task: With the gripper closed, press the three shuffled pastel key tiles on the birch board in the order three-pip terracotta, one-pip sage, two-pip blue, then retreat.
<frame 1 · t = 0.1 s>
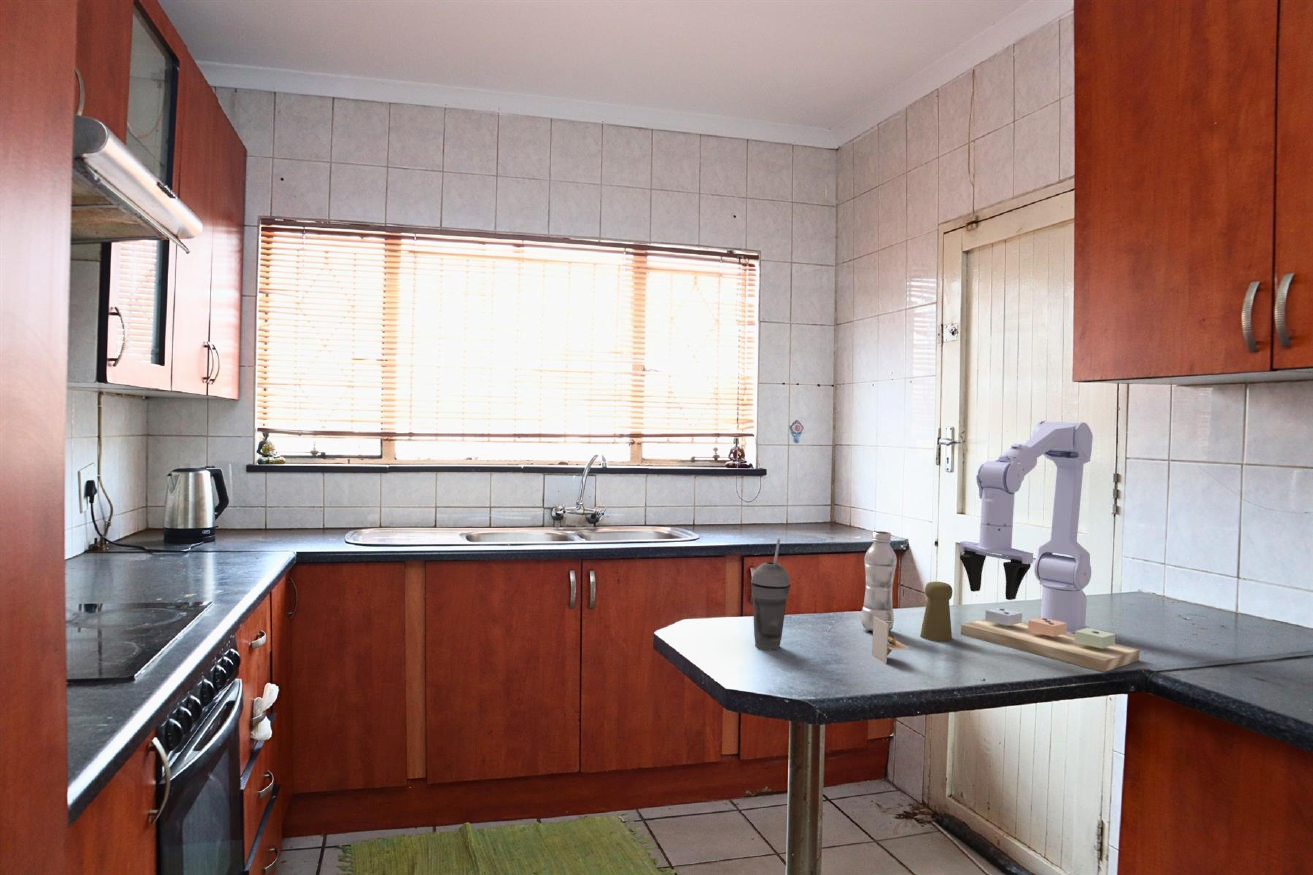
hand: (992, 594, 159), 10 cm above the counter, fingers open, 7 cm apart
tile three: (1047, 626, 161), point 4 cm above the counter, slide at 0.0 cm
tile two: (1003, 616, 168), point 4 cm above the counter, slide at 0.0 cm
beverage cup: (767, 647, 153), on the counter
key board: (1046, 646, 161), on the counter
cork: (936, 638, 165), on the counter
plastic bottle: (876, 632, 167), on the counter
tile one: (1094, 637, 154), point 4 cm above the counter, slide at 0.0 cm
architectural model: (883, 662, 148), on the counter
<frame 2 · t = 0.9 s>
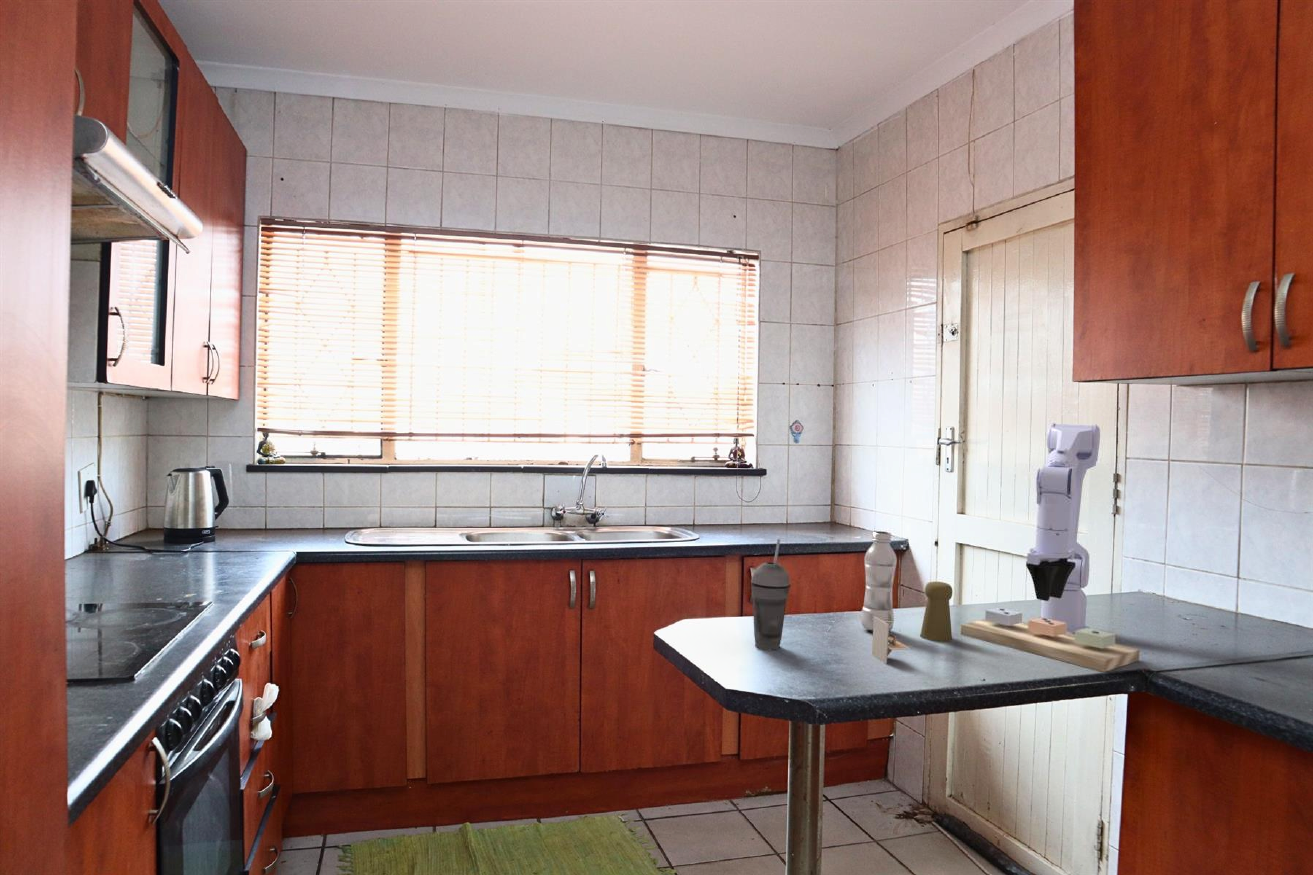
hand: (1048, 598, 161), 9 cm above the counter, fingers open, 4 cm apart
nothing on the counter moved.
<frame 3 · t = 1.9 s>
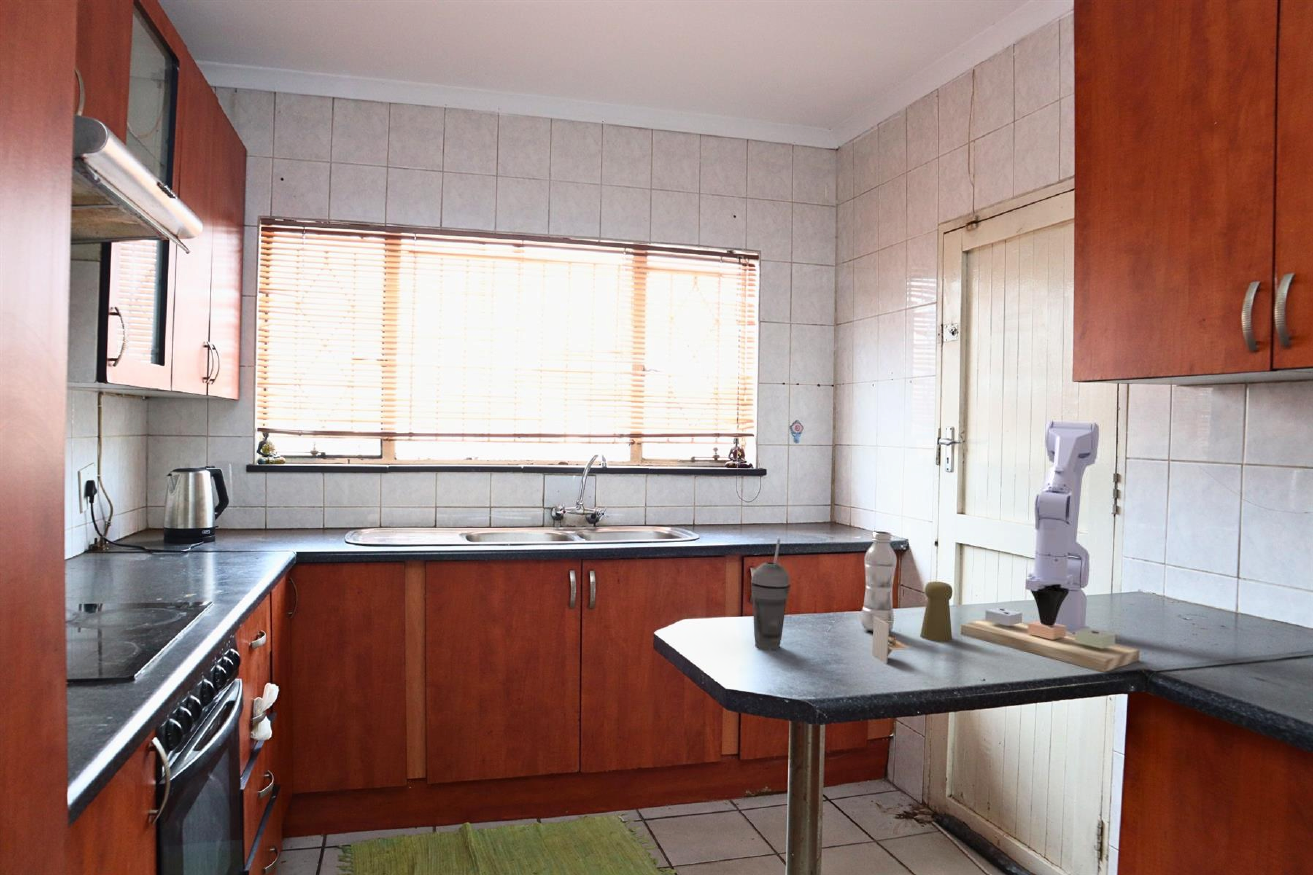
hand: (1047, 624, 161), 4 cm above the counter, fingers closed, pressing on tile three
tile three: (1047, 629, 161), point 3 cm above the counter, slide at 0.6 cm, touching gripper
everything else where it was.
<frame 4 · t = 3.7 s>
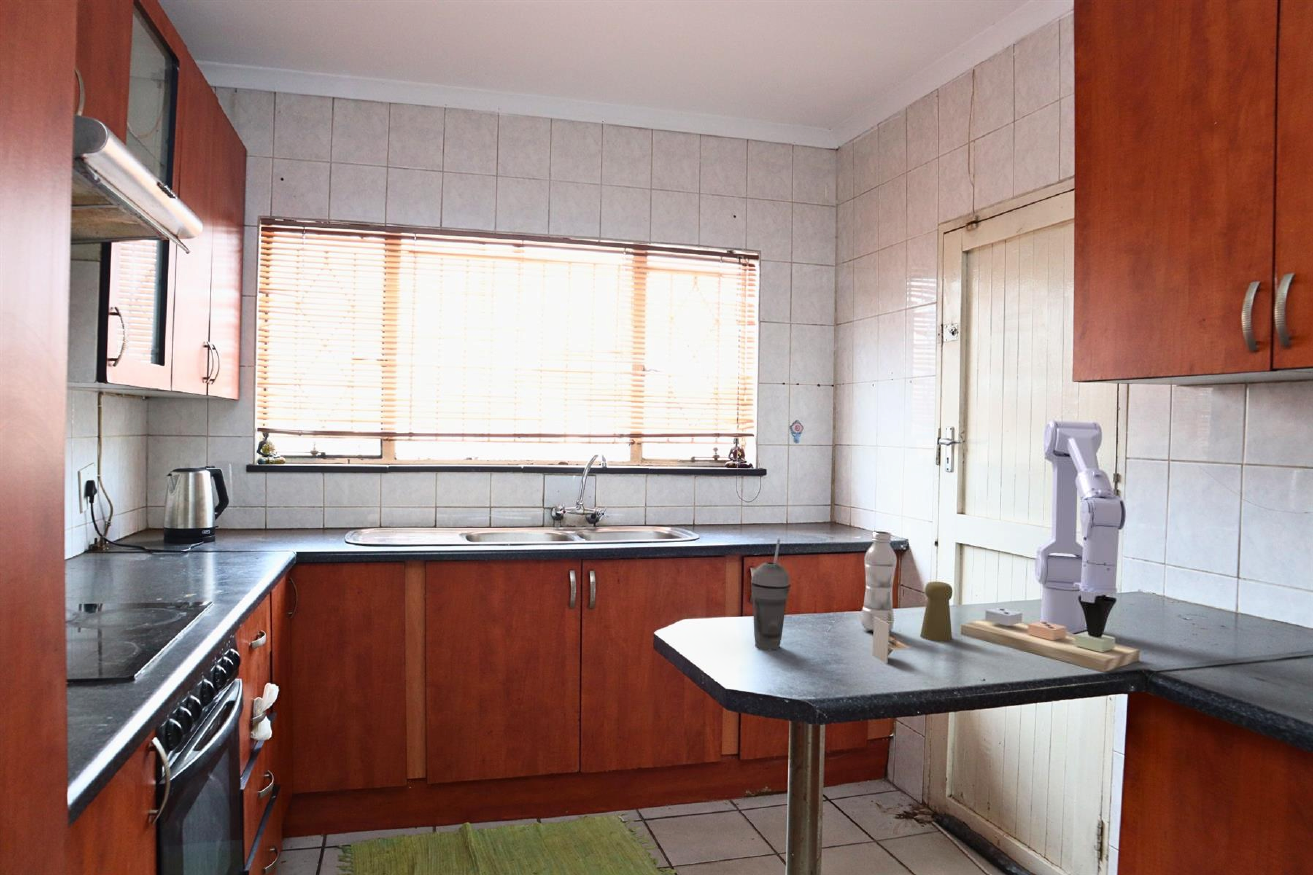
hand: (1095, 635, 154), 4 cm above the counter, fingers closed, pressing on tile one
tile three: (1047, 630, 161), point 3 cm above the counter, slide at 0.7 cm
tile one: (1094, 641, 154), point 3 cm above the counter, slide at 0.7 cm, touching gripper
everything else where it was.
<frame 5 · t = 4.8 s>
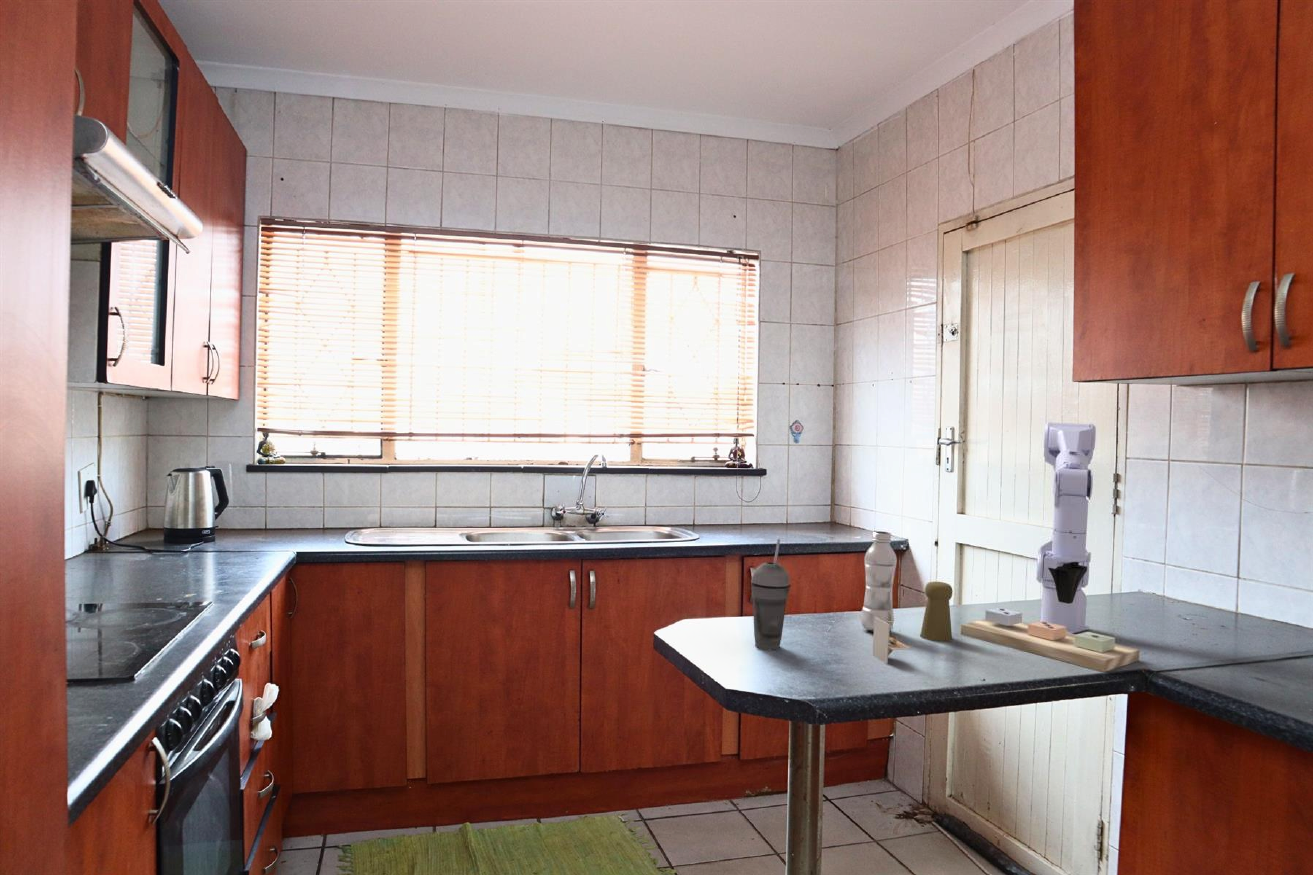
hand: (1065, 602, 159), 9 cm above the counter, fingers closed
tile one: (1094, 641, 154), point 3 cm above the counter, slide at 0.7 cm
everything else where it was.
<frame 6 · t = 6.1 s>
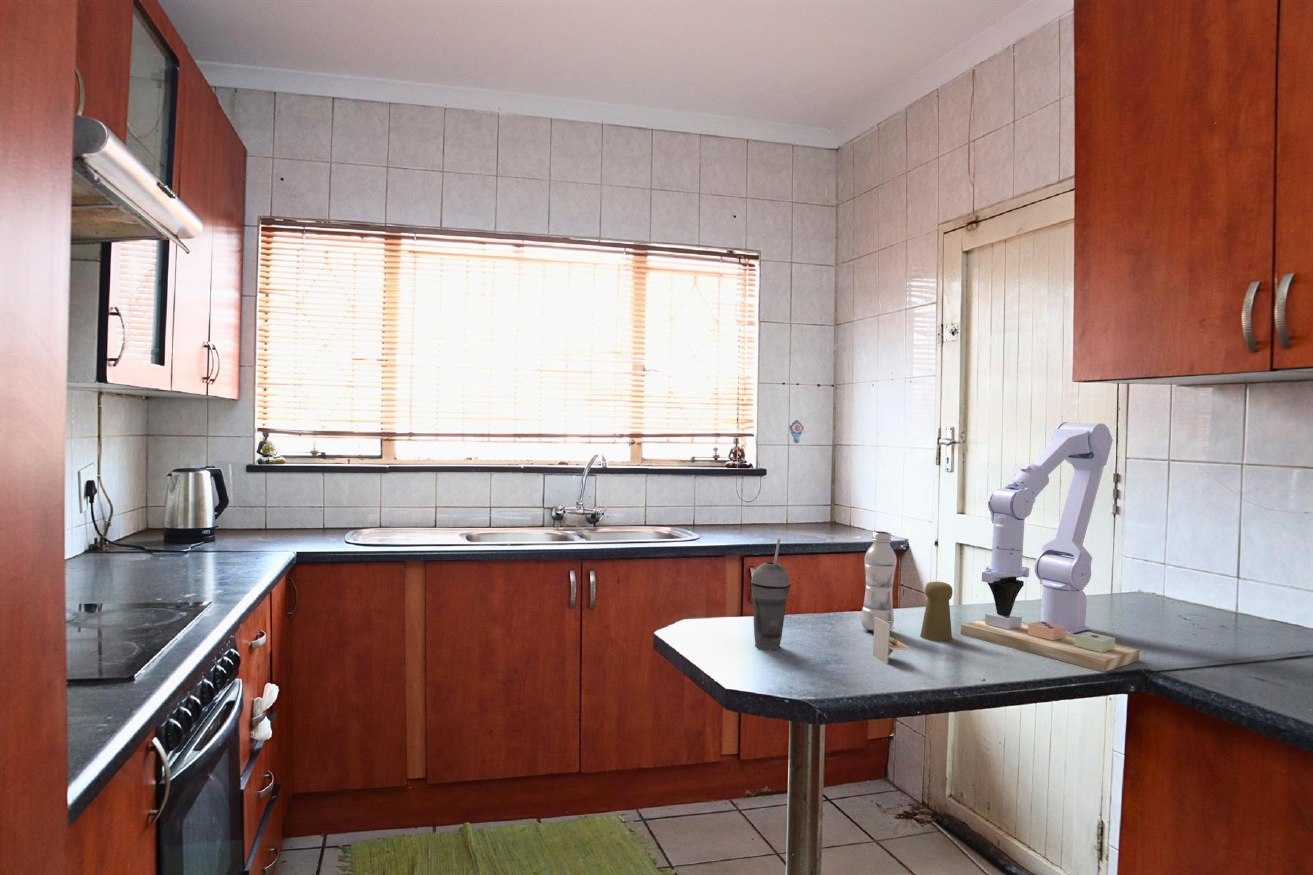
hand: (1003, 614, 168), 4 cm above the counter, fingers closed, pressing on tile two
tile two: (1003, 619, 168), point 3 cm above the counter, slide at 0.8 cm, touching gripper
everything else where it was.
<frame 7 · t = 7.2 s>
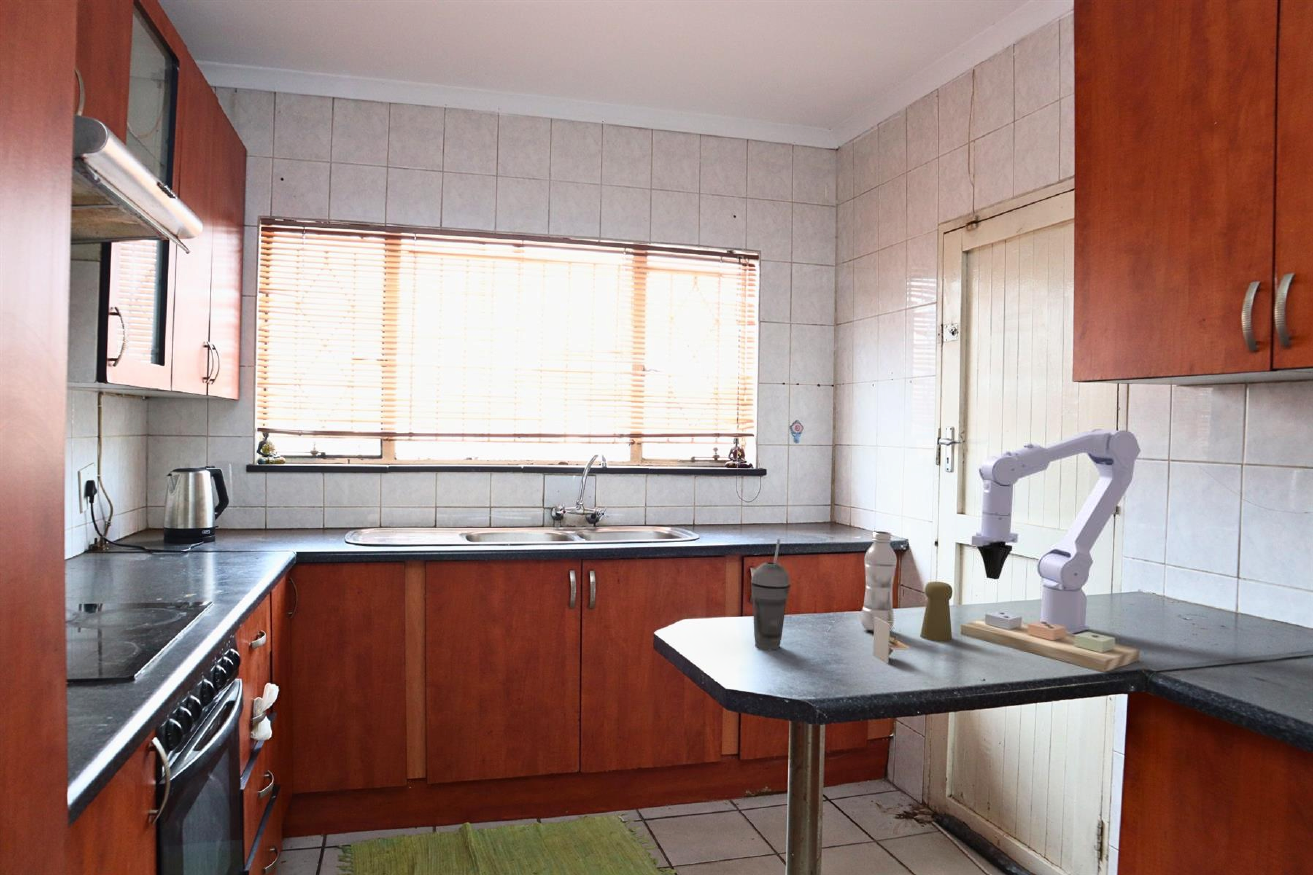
hand: (992, 578, 174), 10 cm above the counter, fingers closed
tile two: (1003, 619, 168), point 3 cm above the counter, slide at 0.8 cm
everything else where it was.
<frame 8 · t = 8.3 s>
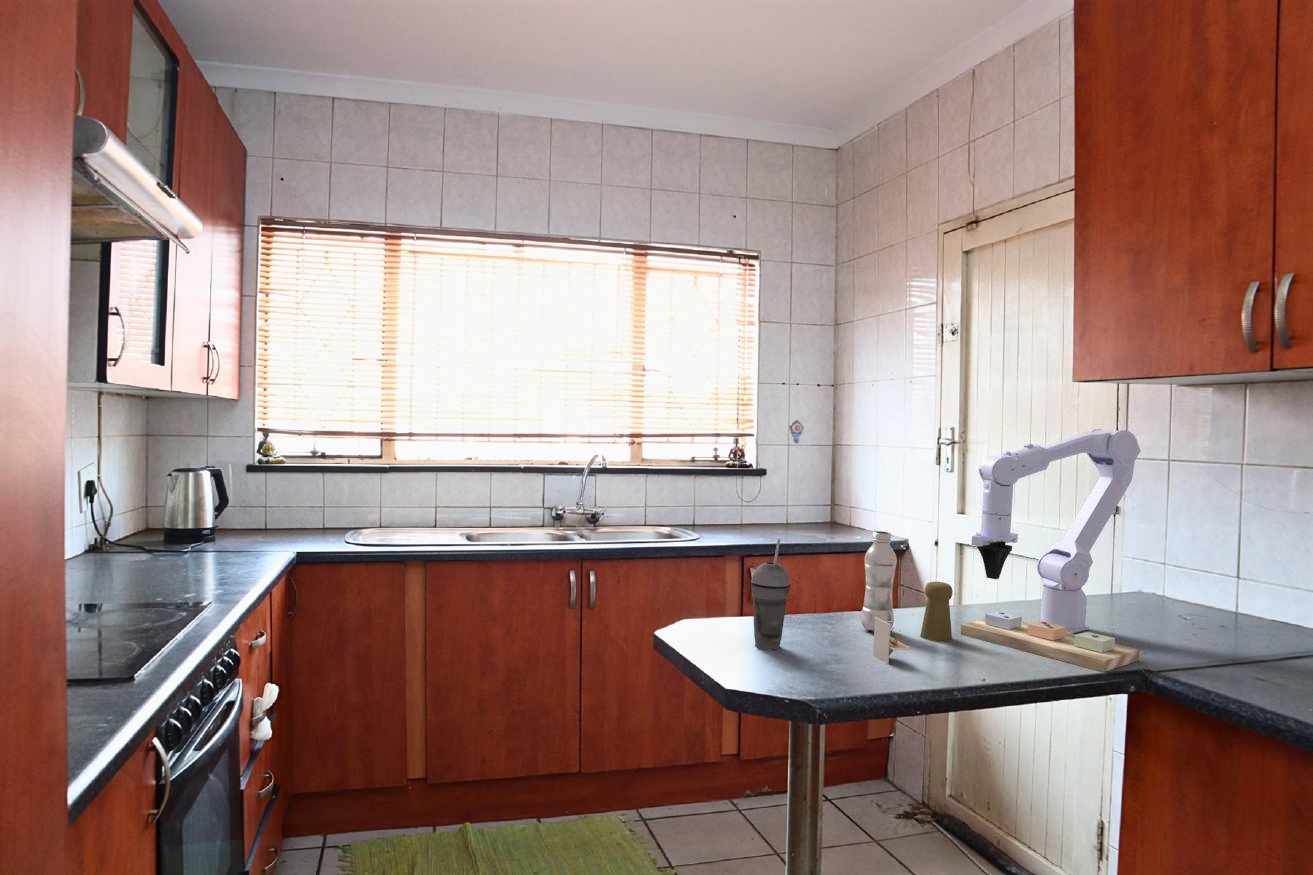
hand: (992, 578, 174), 10 cm above the counter, fingers closed
nothing on the counter moved.
at the end: tile three slide at 0.7 cm; tile one slide at 0.7 cm; tile two slide at 0.8 cm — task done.
